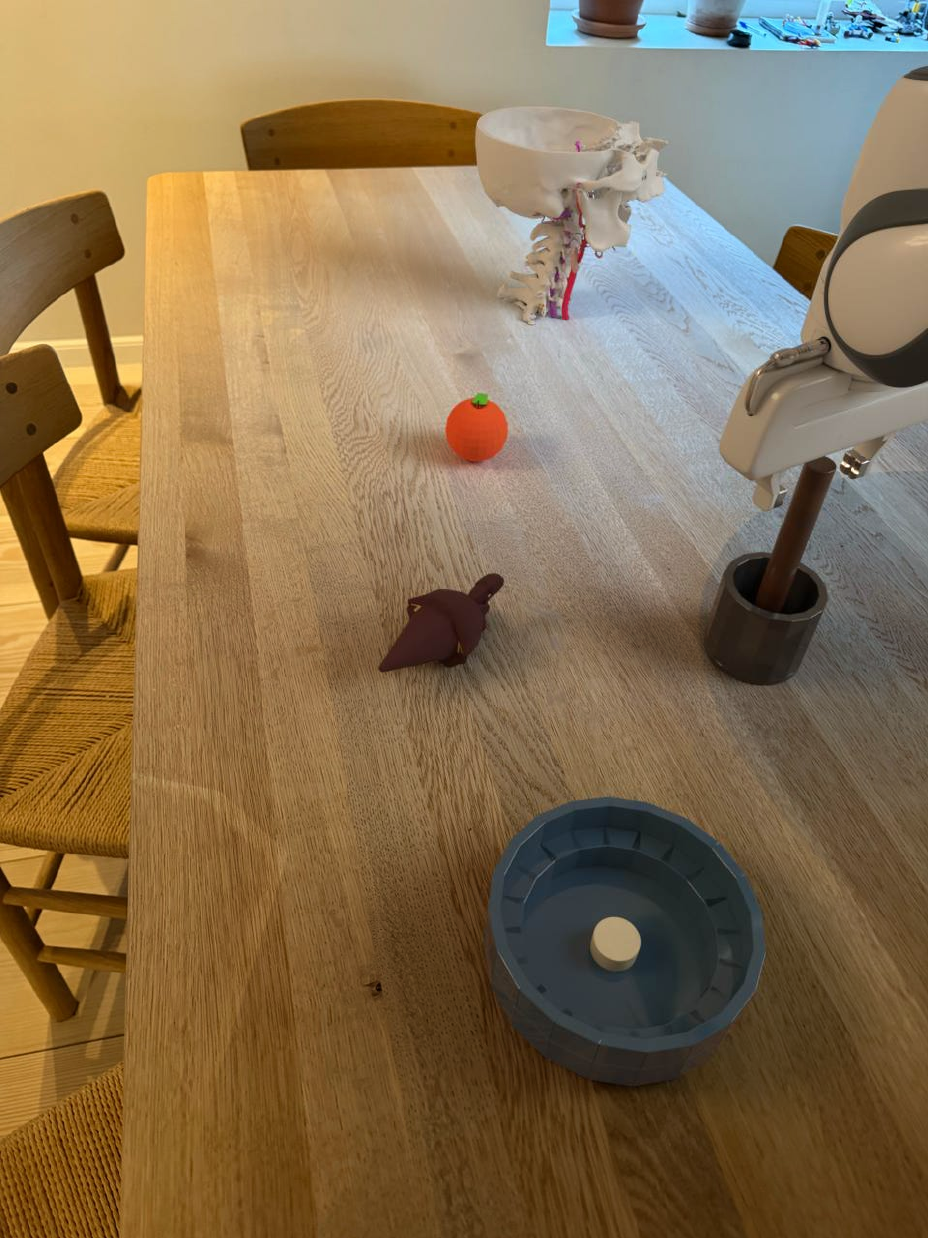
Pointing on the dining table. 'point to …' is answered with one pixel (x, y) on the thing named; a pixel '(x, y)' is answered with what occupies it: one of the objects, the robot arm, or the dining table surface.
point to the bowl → (665, 919)
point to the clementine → (476, 428)
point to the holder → (762, 623)
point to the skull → (564, 189)
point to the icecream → (443, 626)
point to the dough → (615, 944)
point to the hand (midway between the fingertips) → (810, 489)
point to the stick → (795, 533)
